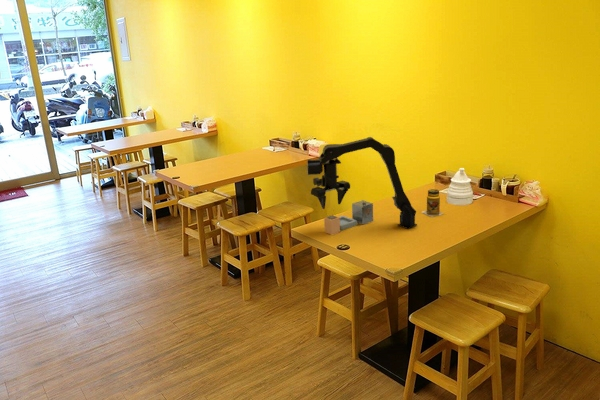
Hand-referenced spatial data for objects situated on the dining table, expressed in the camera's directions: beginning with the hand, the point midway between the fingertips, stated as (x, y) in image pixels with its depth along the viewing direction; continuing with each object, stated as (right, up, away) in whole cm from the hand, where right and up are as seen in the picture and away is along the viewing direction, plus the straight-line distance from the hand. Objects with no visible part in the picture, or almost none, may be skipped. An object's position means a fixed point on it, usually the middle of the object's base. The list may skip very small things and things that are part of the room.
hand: (331, 206), depth 231 cm
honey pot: (+69, +2, +34) cm, 77 cm away
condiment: (+51, -4, +19) cm, 55 cm away
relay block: (+1, -12, +3) cm, 12 cm away
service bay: (+6, -9, +11) cm, 15 cm away
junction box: (+16, -7, +14) cm, 23 cm away
